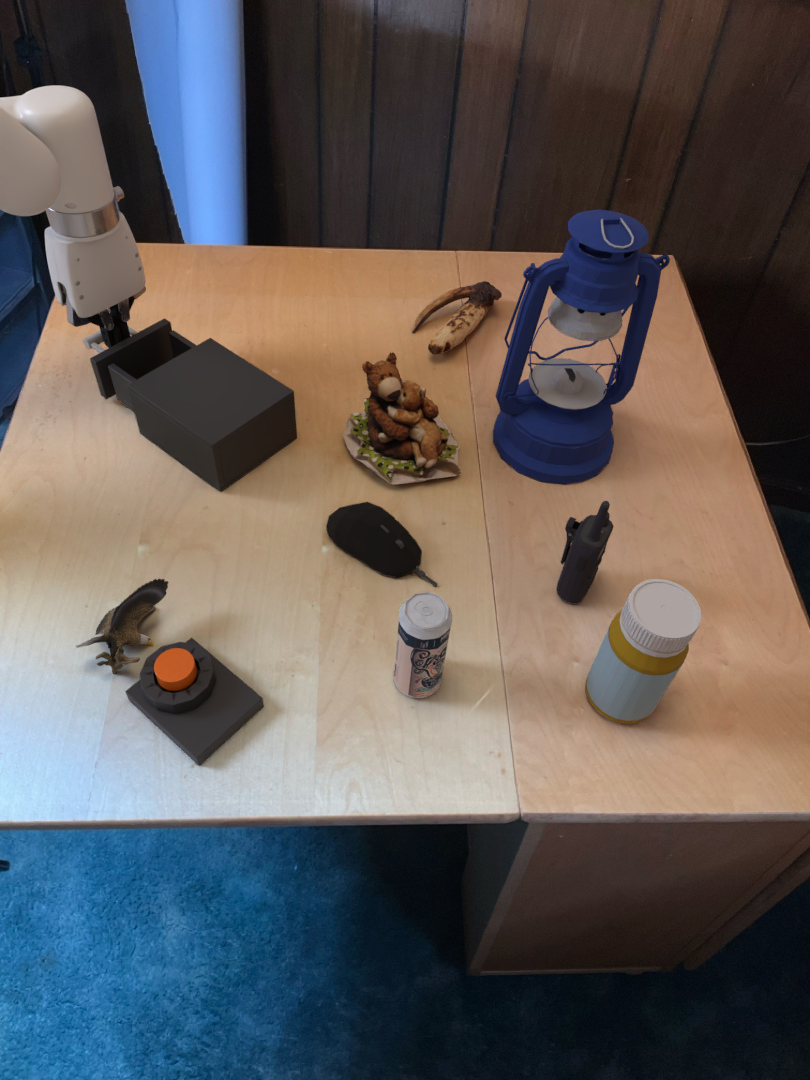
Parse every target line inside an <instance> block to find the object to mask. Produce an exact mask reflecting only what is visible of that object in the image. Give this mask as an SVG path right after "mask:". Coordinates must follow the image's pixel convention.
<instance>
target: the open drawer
mask: <svg viewBox="0 0 810 1080" xmlns="http://www.w3.org/2000/svg"><path fill="white" fill-rule="evenodd" d="M128 328H129V332H130V336H131V337H129V338H127V339H125V340H123V341H121V342H119V343H118V344H116V345H114V346H112V347H110V348H108V347H107V348H103V346H101V344H102V343H104V341H103V338H102V334H101V331H100V330H98V331H96V332H94V333H92V334H91V335H88V336H86V337H85V338H83V339H82V342H83V345H84V346H85V347H86V349H88V350H91V349H93V350H94V351H96V352H97V354H95V355H93V356H91V357H90V358H89V361H90V364H91V367H92V370H93V374H94V376H95V380H96V383H97V387H98V390H99V393H100V396H101V397H102V398H104V399H106V400H108V399H110V398H112V397H113V396H116V400H117V401H118V402H119V403H121V404H123V406H126V408H128V409H129V410H131V411H132V412H134V409H133V405H132V401H131V398H130V394H129V390H128V386H127V385H129V384H130V383H132V382H134V381H136V380H137V379H139V378H141V377H143V376H144V375H146V374H148V373H150V372H151V371H153V370H155V369H156V368H158V367H160V366H162V365H163V364H165V363H167V362H169V361H170V360H172V359H174V358H176V357H177V356H179V355H181V354H183V353H184V352H186V351H188V350H190V349H191V348H193V347H195V346H197V345H198V344H195V343H194V342H192V341H191V340H190V339H188V338H187V337H185V336H183V335H181V334H180V333H179V332H177V331H175V330H174V329H173V328H172V323H171V321H170V320H168V319H167V318H162V319H160V320H159V321H157V322H155V323H153V324H151V325H149V326H148V327H146V328H144V329H142V330H140V331H136V330H135V329H134V328H132V327H130V326H129V325H128Z"/></svg>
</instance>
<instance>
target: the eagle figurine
mask: <svg viewBox="0 0 810 1080" xmlns="http://www.w3.org/2000/svg"><path fill="white" fill-rule="evenodd" d="M168 588H169V581H168V580H165V579H164V578H158V579H157V578H154V579H153V580H149V581H148V582H146V583H144V584H141V586H140V587H137V589H135V590H134V591H133V592H131V594H129V595H128V596H126V598H124V599H123V601H121V602H120V603H119V604H118V605H117V606H116V607H114V608H112V609H110V610H109V611H108V612H106V614H105V615H104V616H103V617H102V619H101V620H100V623H99V624H98V625H97V627H96V630H95V633H94V634H95V635H93V636H91V637H89V638H87V639H85V640H83V641H81V642H79V643H77V644H75V648H77V649H79V648H83V647H89V646H91V645H93V644H98V643H100V644H101V643H106V645H107V648H108V650H109V652H107V651H102V652H101V653H99V654H97V655H96V656H95V660H98V659H105V660H101V661H98V662H97V663H96V666H98V667H102V666H110V668H111V674H113V675H115V674H116V673H117V672H118V671H119V670H121V669H122V667H123V666H124V665H129V664H134V663H138V662H139V661H141V658H140V657H139V656H132V657H128V656H127V655H126V654H124V653H125V650H124V648H123V647H124V646H135V645H148V646H151V647H154V646H155V643H154V642H153V641H152V638H151V637H149V636H148V635H146V634H142V633H140V632H139V631H138V626H139V623H140V622H141V620H142V619H143V618H144V617H146V616H147V615H148V614H149V613H151V612H153V610H155V609H156V607H155V606H156V605H157V604H159V603H160V602H161V601H162V600H163V599H164V598H165V597H166V595H167V590H168Z"/></svg>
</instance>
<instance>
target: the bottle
mask: <svg viewBox="0 0 810 1080" xmlns="http://www.w3.org/2000/svg"><path fill="white" fill-rule="evenodd" d="M701 622H702V610H701V607H700V605H699V602H698V601H697V599H696V597H695V596H694V595H693V594H692V593H691V592H690V591H689V590H688V589H687V588H686V587H684V586H682V585H681V584H679V583H676V582H674V581H671V580H667V579H662V578H652V579H646V580H643V581H641V582H639V583H638V584H637V585H636V586H634V587H633V588H632V590H631V591H630V593H629V594H628V597H627V599H626V601H625V603H624V606H623V608H622V609H621V610H619V612H618V613H616V614H615V615H614V617H613V619H612V620H611V622H610V624H609V627H608V629H607V631H606V633H605V635H604V637H603V640H602V641H601V644H600V646H599V649H598V651H597V653H596V655H595V657H594V659H593V661H592V664H591V666H590V668H589V670H588V673H587V676H586V678H585V692H586V697H587V699H588V702H590V704H591V705H592V707H593V708H594V710H595V711H597V712H598V713H599V714H600V715H601V716H602V717H604V718H606V719H609V720H610V721H612V722H615V723H620V724H625V725H627V724H637V723H640V722H642V721H644V720H646V719H647V718H648V717H650V715H651V714H652V713H653V712H654V711H655V710H656V708H657V706H658V704H659V703H660V701H661V700H662V699H663V696H664V695H665V693H666V692H667V691H668V689H669V687H670V686H671V684H672V682H673V681H674V679H675V677H676V675H677V674H678V672H679V671H680V670H681V667H682V666H683V664H684V663H685V660H686V659H687V656H688V653H689V652H690V651H689V650H690V648H689V646H690V642H692V639H693V638H694V636H695V634H696V633H697V631H698V630H699V628H700V625H701Z"/></svg>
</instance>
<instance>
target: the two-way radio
mask: <svg viewBox="0 0 810 1080" xmlns="http://www.w3.org/2000/svg"><path fill="white" fill-rule="evenodd" d="M610 505H611V504H610V501H608V500H603V501H602V502H601V504H600V506H599V508H598V511H597V513H596V514H589V515H587V516H586V517H584V519H583V520H581V521H577V518H575V517H574V516H570V517H569V518H568V520H567V521H566V524H565V526H564V530H565V534H566V543H565V545H564V549H563V553H562V556H561V560H560V563H561V565H562V569H561V572H560V575H559V578H558V580H557V584H556V593H557V595H558V596H559V597H560V598H561V600H562V601H564V602H566V603H568V604H572V605H577V604H580V603H582V602H583V600H584V599H585V597H586V596H587V594H588V592H589V591H590V589H591V587H592V586H593V583H594V580H595V578H596V577H597V573H598V571H599V566H600V565H601V563H602V560H603V556H604V554H605V552H606V549H607V545H608V541H609V539H610V537H611V535H612V533H613V530H614V524H613V522H612V520H611V519H610V516H611V515H610V512H609V509H610Z"/></svg>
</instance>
